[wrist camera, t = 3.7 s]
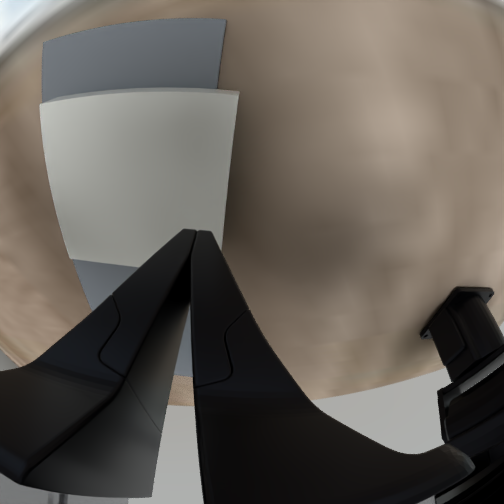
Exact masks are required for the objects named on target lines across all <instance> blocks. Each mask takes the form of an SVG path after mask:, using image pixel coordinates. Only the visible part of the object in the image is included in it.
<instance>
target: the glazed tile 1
mask: <svg viewBox="0 0 504 504" xmlns="http://www.w3.org/2000/svg"><path fill="white" fill-rule="evenodd" d="M239 93H240V91H231V90H220V89H205V88H176V87H159V88H130V89H116V90H105V91H96V92H87V93H80V94H73V95H67V96H61V97H57V98H54V99H52V100H49V101H46V102H44V103H41V104H40V119H41V130H42V139H43V147H44V154H45V161H46V167H47V173H48V178H49V183H50V188H51V193H52V197H53V201H54V206H55V210H56V214H57V218H58V221H59V225H60V229H61V232H62V236H63V239H64V242H65V245H66V249H67V252H68V255H69V258H70V259H76V260H84V261H92V262H99V263H107V264H115V265H124V266H132V267H140V266H141V265H142V264H143V263H145V262H146V261H147V260H148V259H149V258H150V257H151V256H152V255H153V254H155V253H156V252H157V251H158V250H159V249H160V248H161V247H162V246H164V245H165V244H166V243H167V242H168V241H169V240H170V239H172V238H173V237H174V236H175V235H176V234H177V233H179V232H180V231H181V230H182V229H184V228H186V229H195V230H197V231H198V230H207V231H212V233H213V235H214V237H215V239H216V241H217V243H218V245H219V248H220V250H221V251H222V240H223V230H224V219H225V209H226V200H227V190H228V181H229V172H230V163H231V155H232V146H233V138H234V130H235V122H236V115H237V107H238V100H239Z"/></svg>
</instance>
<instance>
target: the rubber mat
mask: <svg viewBox="0 0 504 504" xmlns="http://www.w3.org/2000/svg"><path fill="white" fill-rule="evenodd" d="M226 21H227V20H226V19H209V18H178V19H158V20H146V21H137V22H129V23H122V24H115V25H109V26H104V27H99V28H94V29H89V30H85V31H81V32H77V33H73V34H69V35H65V36H62V37H59V38H55V39H52V40H49V41H46V42H43V53H42V103H44V102H46V101H49V100H52V99H54V98H57V97H61V96H67V95H73V94H80V93H87V92H96V91H105V90H116V89H130V88H159V87H176V88H205V89H217V86H218V78H219V70H220V62H221V55H222V48H223V41H224V34H225V28H226ZM72 260H73V262H74V265H75V268H76V271H77V274H78V277H79V279H80V282H81V285H82V287H83V290H84V292H85V295H86V297H87V300H88V302H89V305H90V307H91V309H92V311H93V310H94V309H96V308H97V307H98V306H99V305H100V304H101V303H102V302H103V301H104V300H105V299H106V298H107V297H108V296H109V295H112V292H113V291H115V290H116V289H117V288H118V287H119V286H120V285H121V284H122V283H123V282H124V281H125V280H126V279H127V278H128V277H129V276H130V275H131V274H133V273H134V272H135V271H136V270H137V269H138V268H139V267H132V266H124V265H115V264H107V263H99V262H92V261H84V260H76V259H72ZM174 375H180V376H188V377H193V374H192V353H191V322H190V307H189V312H188V316H187V320H186V324H185V328H184V332H183V336H182V340H181V345H180V349H179V353H178V358H177V362H176V366H175V371H174Z"/></svg>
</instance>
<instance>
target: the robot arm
mask: <svg viewBox="0 0 504 504" xmlns="http://www.w3.org/2000/svg"><path fill="white" fill-rule="evenodd" d="M493 295H494V291H493V290H492V289H485V288H457V289H456V290H455V291H454V292H453V293H452V294H451V296H450V297H449V298H448V300H447V301H446V302H445V304H444V305H443V306H442V308H441V309H440V310H439V311H438V313H437V314H436V315H435V316H434V318H433V319H432V320H431V321H430V323H429V324H428V325H427V326H426V327H425V329H424V330H423V331H422V332H421V333H420V337H421V339H430V338H433V341H434V343H435V346H436V348H437V350H438V353H439V355H440V358H441V361H442V363H443V365H444V366H446V368H447V371H448V374H449V377H450V379H451V382H452V383H451V384H449V385H448V386H446V387H444V388H441V389H440V390H438V391H437V395H438V406H439V415H440V424H441V435H442V439H443V441H444V443H445V444H444V445H441V446H439V447H437V448H434V449H432V450H430V451H427V452H425V453H421V454H404V453H400V452H397V451H394V450H392V449H389V448H387V447H385V446H383V445H381V444H379V443H377V442H375V441H374V440H371V439H369V438H368V437H366V436H364V435H362V434H360V433H358V432H357V431H355V430H353V429H351V428H349V427H348V426H346V425H344V424H342V423H341V422H339V421H337V420H335V419H334V418H332V417H330V416H329V415H327V414H325V413H324V412H323V411H321V410H320V409H319V408H318V407H316V406H315V405H314V404H313V403H312V402H311V401H310V400H309V398H308V397H307V396H306V395H305V393H304V392H303V391H302V390H301V388H300V387H299V385H298V384H297V383H296V381H295V380H294V379H293V377H292V376H291V375H290V373H289V372H288V370H287V369H286V368H285V366H284V365H283V364H282V362H281V361H280V359H279V358H278V357H277V355H276V354H275V352H274V351H273V349H272V348H271V346H270V345H269V343H268V342H267V340H266V339H265V337H264V335H263V334H262V332H261V330H260V328H259V326H258V325H257V323H256V321H255V319H254V317H253V315H252V313H251V311H250V310H249V307H248V305H247V303H246V301H245V299H244V297H243V295H242V293H241V291H240V289H239V287H238V285H237V283H236V281H235V279H234V277H233V275H232V273H231V270H230V268H229V266H228V264H227V262H226V260H225V258H224V256H223V254H222V252H221V250H220V248H219V245H218V243H217V241H216V239H215V237H214V235H213V233H212V231H207V230H198V231H197V230H195V229H186V228H184V229H182V230H181V231H180V232H179V233H177V234H176V235H175V236H174V237H173V238H172V239H170V240H169V241H168V242H167V243H166V244H165V245H164V246H162V247H161V248H160V249H159V250H158V251H157V252H156V253H155V254H153V255H152V256H151V257H150V258H149V259H148V260H147V261H146V262H145V263H143V264H142V265H141V266H140V267H139V268H138V269H137V270H136V271H135V272H134V273H133V274H131V275H130V276H129V277H128V278H127V279H126V280H125V281H124V282H123V283H122V284H121V285H120V286H119V287H118V288H117V289H116V290H115V291H113V292H112V295H109V296H108V297H107V298H106V299H105V300H104V301H103V302H102V303H101V304H100V305H99V306H98V307H97V308H96V309H94V310H93V311H92V312H91V313H90V314H89V315H88V316H87V317H86V318H85V319H83V320H82V321H81V322H80V323H79V324H78V325H76V326H75V327H74V328H73V329H72V330H70V331H69V332H68V333H67V334H66V335H64V336H63V337H62V338H61V339H60V340H58V341H57V342H56V343H55V344H54V345H53V346H51V347H50V348H49V349H48V350H47V351H46V352H44V353H43V354H42V355H41V356H40V357H38V358H37V359H36V360H34V361H33V362H31V363H29V364H27V365H25V366H22V367H20V368H16V369H11V370H5V371H0V504H128V498H145V497H152V490H153V483H154V477H155V470H156V464H157V458H158V452H159V447H160V441H161V436H162V435H161V433H162V430H163V424H164V419H165V414H166V408H167V404H168V399H169V394H170V390H171V385H172V380H173V376H174V371H175V366H176V362H177V358H178V353H179V349H180V345H181V340H182V336H183V332H184V328H185V324H186V320H187V316H188V312H189V307H190V322H191V353H192V374H193V389H194V405H195V419H196V433H197V444H198V457H199V467H200V476H201V485H202V493H203V501H204V504H504V336H503V334H502V332H501V330H500V328H499V327H498V325H497V323H496V321H495V319H494V317H493V315H492V314H491V312H490V310H489V308H488V307H487V305H486V304H487V302H488V301H489V300H490V299H491V297H492V296H493ZM500 365H501V366H500ZM499 366H500V367H499ZM495 369H496V370H495ZM491 372H492V373H491ZM488 374H489V375H488ZM487 375H488V376H487ZM483 378H484V379H483ZM480 380H481V381H480ZM453 381H454V382H453ZM477 382H478V383H477ZM473 385H474V386H473ZM470 387H471V388H470ZM467 389H468V390H467ZM464 391H465V392H464Z"/></svg>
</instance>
